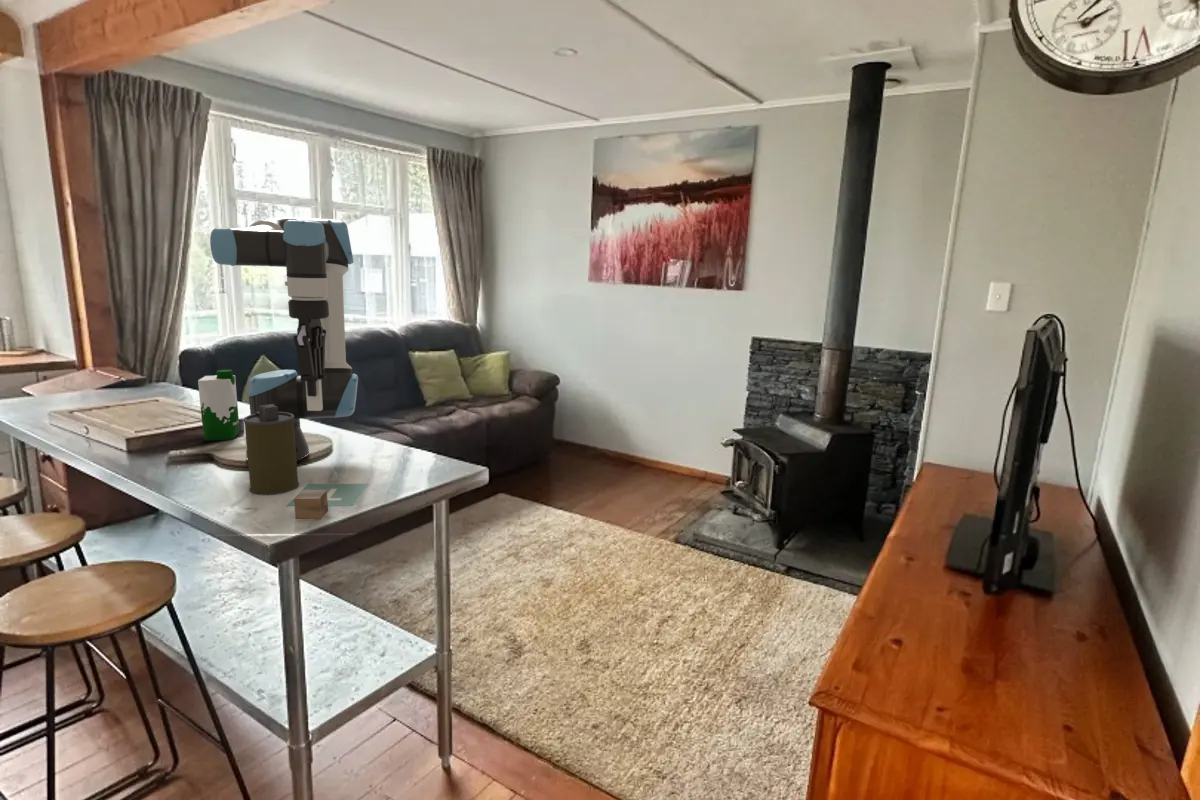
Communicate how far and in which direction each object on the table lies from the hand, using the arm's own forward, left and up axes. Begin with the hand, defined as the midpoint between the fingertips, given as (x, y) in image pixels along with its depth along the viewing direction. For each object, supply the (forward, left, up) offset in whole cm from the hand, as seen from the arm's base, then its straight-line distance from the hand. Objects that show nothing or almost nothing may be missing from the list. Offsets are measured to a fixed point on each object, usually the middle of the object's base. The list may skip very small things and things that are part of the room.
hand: (315, 409), depth 134 cm
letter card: (-6, 0, -22) cm, 23 cm away
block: (+6, 0, -22) cm, 23 cm away
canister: (-11, -14, -22) cm, 28 cm away
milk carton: (-54, -45, -22) cm, 74 cm away
